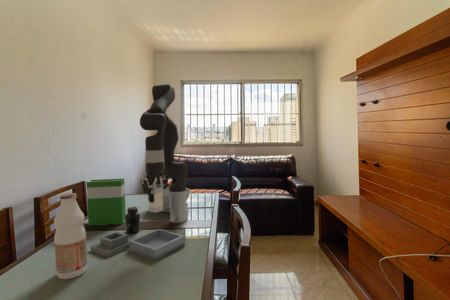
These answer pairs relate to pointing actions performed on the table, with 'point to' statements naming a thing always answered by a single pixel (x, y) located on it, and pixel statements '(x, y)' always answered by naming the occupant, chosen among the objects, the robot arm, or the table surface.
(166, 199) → the decorative bowl
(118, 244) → the grey stepped block piece
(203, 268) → the table surface
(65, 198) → the fruit juice
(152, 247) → the parts tray
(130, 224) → the supplement bottle
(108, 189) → the green cereal box
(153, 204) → the block
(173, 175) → the robot arm
